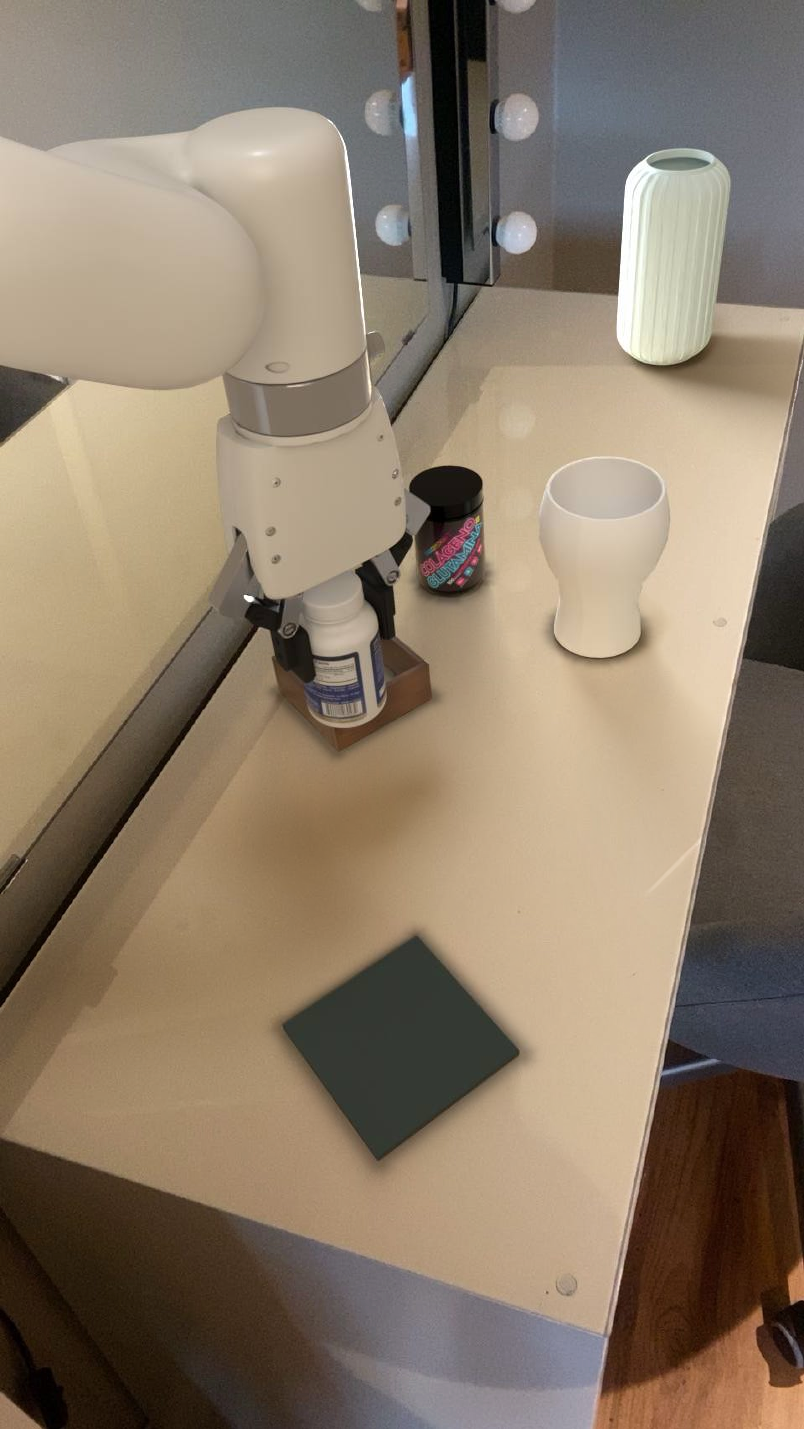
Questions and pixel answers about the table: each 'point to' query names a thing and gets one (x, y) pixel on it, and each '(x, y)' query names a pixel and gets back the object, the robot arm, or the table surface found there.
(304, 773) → the table surface
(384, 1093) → the pad
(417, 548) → the supplement container
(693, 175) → the vase
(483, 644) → the table surface
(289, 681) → the crate
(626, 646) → the cup
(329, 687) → the pill bottle
